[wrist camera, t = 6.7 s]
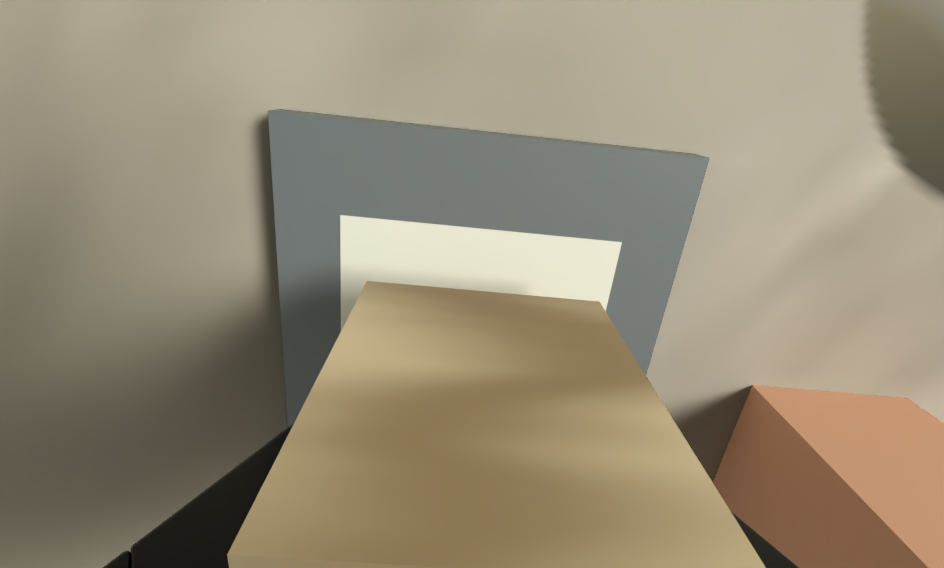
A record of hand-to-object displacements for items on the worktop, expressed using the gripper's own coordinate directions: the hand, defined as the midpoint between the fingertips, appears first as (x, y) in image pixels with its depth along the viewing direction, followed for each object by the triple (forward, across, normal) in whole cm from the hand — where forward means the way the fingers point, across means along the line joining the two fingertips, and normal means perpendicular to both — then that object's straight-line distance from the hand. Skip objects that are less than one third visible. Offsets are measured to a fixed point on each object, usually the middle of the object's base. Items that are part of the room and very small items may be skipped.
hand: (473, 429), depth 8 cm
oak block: (+1, 0, 0) cm, 1 cm away
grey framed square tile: (+3, 0, 0) cm, 3 cm away
